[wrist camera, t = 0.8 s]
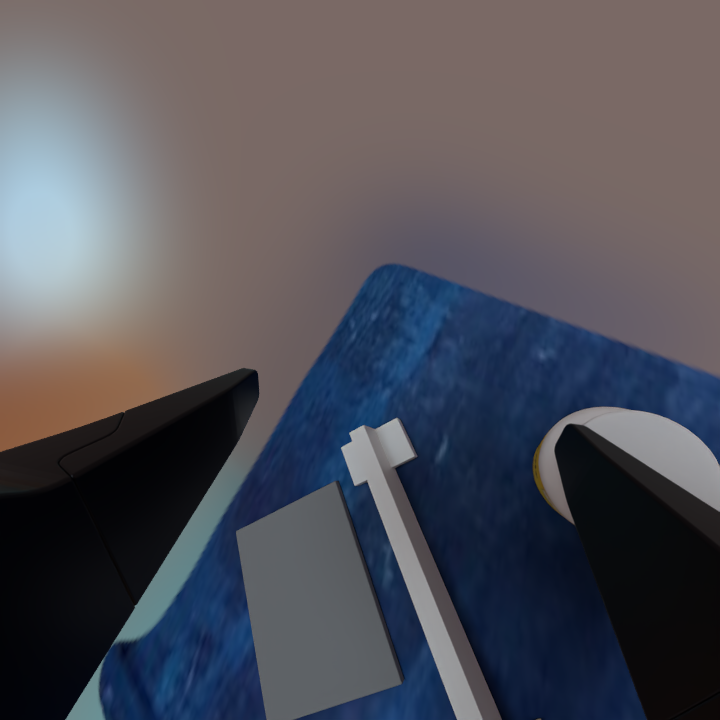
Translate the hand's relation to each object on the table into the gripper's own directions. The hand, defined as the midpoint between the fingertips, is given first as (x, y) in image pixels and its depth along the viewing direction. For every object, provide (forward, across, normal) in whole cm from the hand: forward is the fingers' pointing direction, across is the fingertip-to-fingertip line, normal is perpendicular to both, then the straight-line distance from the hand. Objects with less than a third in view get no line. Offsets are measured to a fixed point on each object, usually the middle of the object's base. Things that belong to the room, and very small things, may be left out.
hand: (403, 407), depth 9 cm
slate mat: (+4, +4, +20) cm, 21 cm away
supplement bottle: (+8, -12, +8) cm, 16 cm away
